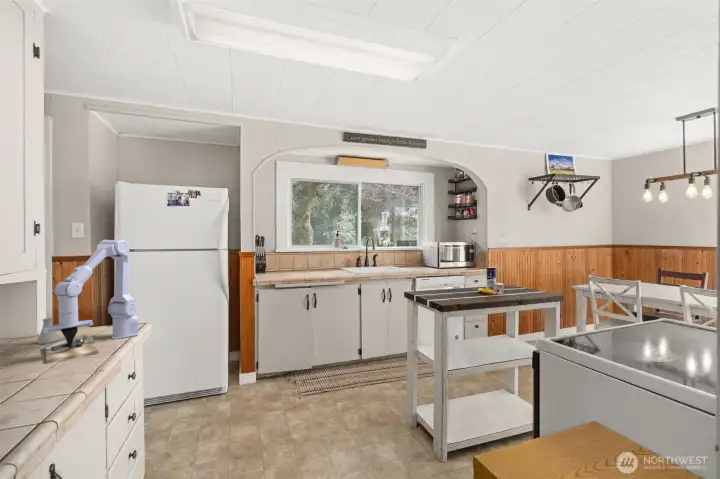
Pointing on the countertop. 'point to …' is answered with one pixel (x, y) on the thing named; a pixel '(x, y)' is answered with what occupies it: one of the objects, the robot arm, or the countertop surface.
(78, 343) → the latch bar
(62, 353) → the lock board
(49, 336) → the flask
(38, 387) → the countertop surface
